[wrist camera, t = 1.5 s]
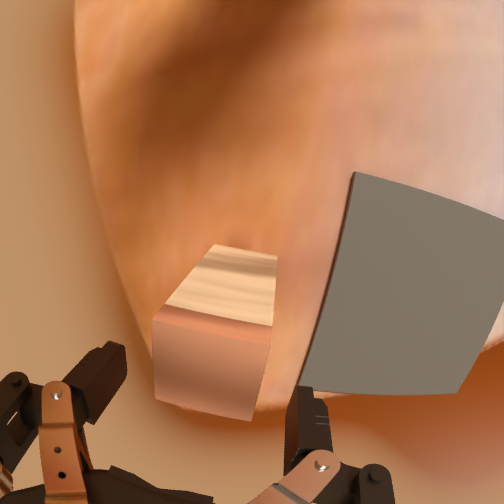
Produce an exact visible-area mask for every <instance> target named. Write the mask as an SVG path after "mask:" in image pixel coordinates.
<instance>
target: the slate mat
mask: <svg viewBox="0 0 504 504" xmlns="http://www.w3.org/2000/svg"><path fill="white" fill-rule="evenodd" d="M503 301H504V220H502V219H500V218H497V217H495V216H492V215H490V214H487V213H485V212H482V211H480V210H477V209H475V208H472V207H469V206H467V205H464V204H461V203H459V202H456V201H453V200H450V199H447V198H444V197H441V196H438V195H435V194H432V193H429V192H426V191H423V190H420V189H417V188H413V187H410V186H407V185H403V184H400V183H396V182H393V181H389V180H386V179H382V178H378V177H375V176H371V175H367V174H363V173H359V172H354V174H353V180H352V185H351V190H350V195H349V200H348V205H347V210H346V214H345V219H344V224H343V228H342V232H341V237H340V241H339V245H338V249H337V253H336V257H335V261H334V265H333V269H332V273H331V277H330V281H329V284H328V288H327V292H326V295H325V299H324V302H323V306H322V309H321V313H320V316H319V320H318V323H317V326H316V330H315V333H314V336H313V339H312V342H311V345H310V349H309V352H308V355H307V358H306V361H305V364H304V367H303V370H302V373H301V375H300V378H299V381H298V384H297V385H300V386H309V387H312V388H313V390H317V391H327V392H338V393H352V394H372V395H436V394H453V393H456V392H457V391H458V389H459V388H460V386H461V385H462V383H463V381H464V380H465V378H466V376H467V375H468V373H469V371H470V370H471V368H472V366H473V364H474V362H475V360H476V358H477V357H478V355H479V353H480V351H481V349H482V347H483V345H484V343H485V341H486V339H487V337H488V335H489V333H490V331H491V329H492V327H493V325H494V322H495V320H496V318H497V316H498V313H499V311H500V308H501V306H502V303H503Z"/></svg>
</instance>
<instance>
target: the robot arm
mask: <svg viewBox="0 0 504 504" xmlns="http://www.w3.org/2000/svg"><path fill="white" fill-rule="evenodd" d="M126 375H127V363H126V353H125V347H124V346H123V345H121V344H118V343H115V342H112V341H108V342H107V343H106V344H105V345H104V346H103V347H102V348H99V347H97V348H95V349H93V350H91V351H89V352H88V353H87V354H86V355H85V356H84V358H83V359H82V360H81V361H80V362H79V364H77V365H76V366H75V367H74V368H73V369H72V370H71V371H70V372H69V373H68V374H67V376H66V377H65V378H64V379H63V380H62V381H52V382H49V383H47V384H46V385H45V386H41V385H37V384H33V383H30V382H29V380H28V377H27V376H26V375H25V374H24V373H22V372H12V373H9V374H8V375H7V376H6V377H5V378H4V379H3V380H2V381H1V382H0V504H215V503H213V497H211V496H206V495H202V494H198V493H194V492H189V491H181V490H168V489H159V488H156V487H155V486H153V485H151V484H149V483H148V482H146V481H144V480H143V479H141V478H140V477H138V476H136V475H135V474H132V473H130V472H127V471H125V470H122V469H120V468H117V467H115V466H112V465H111V467H110V469H109V470H102V469H97V470H96V469H94V468H93V465H92V463H91V460H90V456H89V452H88V448H87V443H86V438H85V433H84V428H83V425H84V424H85V422H88V423H90V424H92V425H94V424H95V423H96V421H97V420H98V418H99V417H100V415H101V414H102V412H103V411H104V410H105V408H106V406H107V405H108V404H109V402H110V401H111V399H112V398H113V396H114V395H115V394H116V392H117V391H118V389H119V388H120V386H121V385H122V383H123V382H124V380H125V378H126ZM16 411H17V414H16V415H15V416H14V418H13V419H12V420H11V421H10V423H9V424H8V425H7V423H8V421H9V420H10V419H11V417H12V416H13V415H14V414H15V412H16ZM38 433H39V446H40V456H41V465H42V472H43V479H44V484H41V485H37V486H34V487H30V488H26V489H21V490H17V491H13V486H12V485H13V478H12V476H11V474H12V473H13V471H14V470H15V468H16V466H17V465H18V463H19V462H20V460H21V458H22V457H23V456H24V454H25V453H26V451H27V450H28V448H29V447H30V445H31V444H32V442H33V441H34V439H35V438H36V436H37V435H38ZM283 475H284V476H285V477H284V478H283V479H282V480H281V481H279V482H278V483H274V484H272V485H271V486H269V487H268V488H267V489H265V490H264V491H263V492H262V493H261V494H259V495H258V496H257V497H256V498H255V499H253V500H252V501H250V502H249V503H248V504H311V503H312V502H313V503H316V504H395V499H394V492H393V485H392V480H391V475H390V472H389V471H388V470H387V469H386V468H385V467H384V466H382V465H379V464H368V465H366V466H364V467H363V468H362V469H360V468H356V467H352V466H348V465H345V464H343V463H342V462H340V461H339V458H338V457H337V456H336V455H335V454H334V453H333V447H332V440H331V432H330V425H329V418H328V409H327V406H326V405H325V403H324V402H323V400H322V399H317V398H314V395H313V388H312V387H309V386H300V385H296V386H295V388H294V391H293V393H292V396H291V399H290V402H289V405H288V407H287V411H286V418H285V448H284V474H283Z"/></svg>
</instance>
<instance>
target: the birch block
mask: <svg viewBox="0 0 504 504" xmlns="http://www.w3.org/2000/svg"><path fill="white" fill-rule="evenodd" d="M276 270H277V256H276V255H271V254H266V253H260V252H255V251H249V250H244V249H238V248H233V247H227V246H222V245H216V244H214V245H213V246H212V248H211V249H210V250H209V251H208V252H207V253H206V255H205V256H204V257H203V258H202V259H201V261H200V262H199V263H198V264H197V265H196V266H195V268H194V269H193V270H192V271H191V272H190V274H189V275H188V276H187V277H186V278H185V279H184V281H183V282H182V283H181V284H180V285H179V287H178V288H177V289H176V290H175V292H174V293H173V294H172V295H171V296H170V298H169V299H168V300H167V301H166V302H165V304H164V305H163V306H162V307H161V309H160V310H159V311H158V312H157V313H156V315H155V316H154V317H153V318H152V353H153V374H154V388H155V399H158V400H161V401H164V402H168V403H171V404H175V405H178V406H182V407H186V408H190V409H193V410H197V411H202V412H206V413H210V414H215V415H219V416H224V417H229V418H234V419H240V420H245V421H251V420H252V416H253V413H254V409H255V405H256V402H257V398H258V394H259V390H260V386H261V382H262V378H263V374H264V370H265V366H266V362H267V358H268V354H269V350H270V346H271V336H272V324H273V311H274V298H275V284H276Z"/></svg>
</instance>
